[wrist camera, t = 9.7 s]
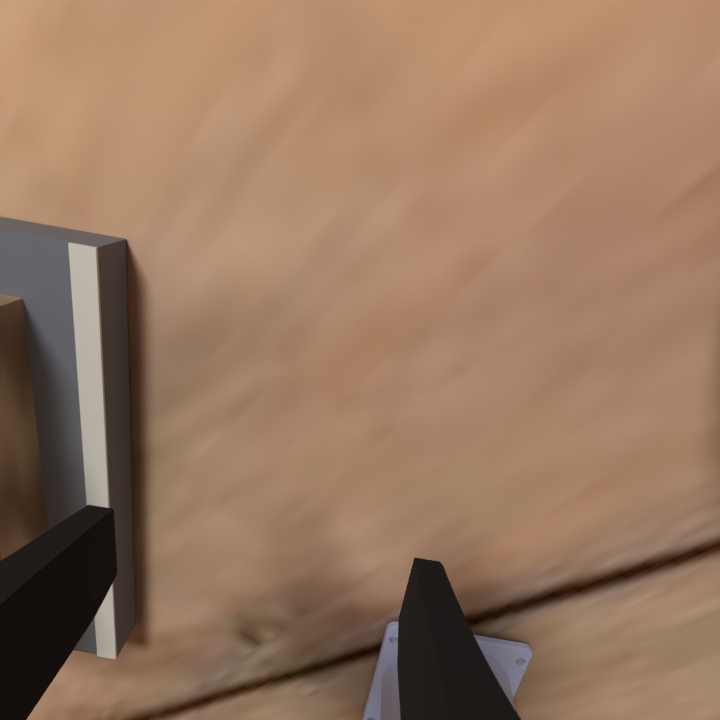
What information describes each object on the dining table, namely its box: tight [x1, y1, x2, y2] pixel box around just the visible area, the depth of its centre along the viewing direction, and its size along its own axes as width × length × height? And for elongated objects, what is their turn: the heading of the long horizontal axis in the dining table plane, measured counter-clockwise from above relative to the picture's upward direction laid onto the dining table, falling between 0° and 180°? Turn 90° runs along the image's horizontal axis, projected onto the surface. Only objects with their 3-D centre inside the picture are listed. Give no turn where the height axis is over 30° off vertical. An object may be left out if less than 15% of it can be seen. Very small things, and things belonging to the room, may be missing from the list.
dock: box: [0, 217, 135, 659], centre depth 22 cm, size 22×10×2 cm, turn 171°
